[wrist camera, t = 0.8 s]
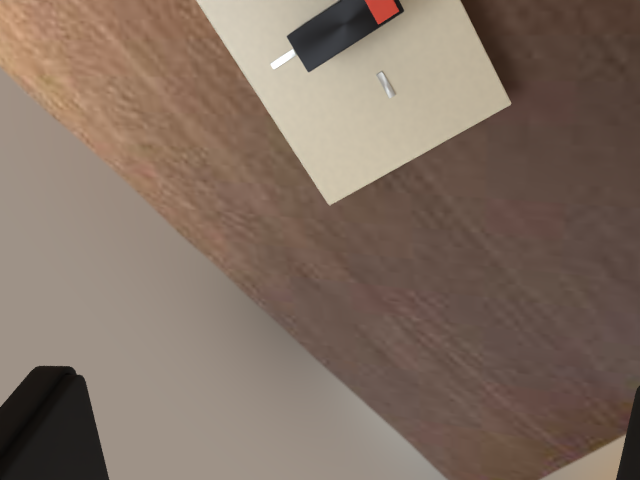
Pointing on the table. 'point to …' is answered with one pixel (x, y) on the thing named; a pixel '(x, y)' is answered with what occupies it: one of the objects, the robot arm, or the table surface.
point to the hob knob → (340, 28)
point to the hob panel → (363, 85)
